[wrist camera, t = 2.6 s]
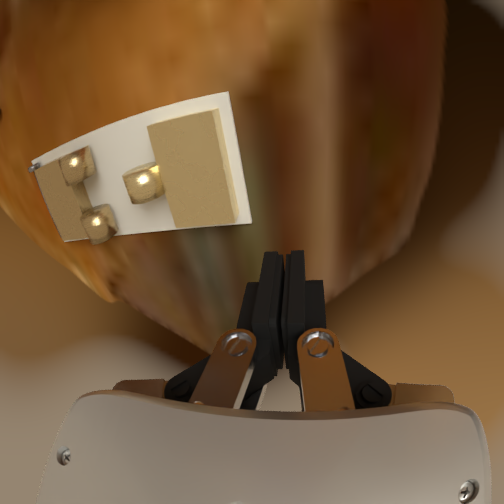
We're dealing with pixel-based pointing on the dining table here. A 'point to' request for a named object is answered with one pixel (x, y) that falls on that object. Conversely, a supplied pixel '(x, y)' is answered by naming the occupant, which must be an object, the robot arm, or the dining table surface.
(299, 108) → the dining table surface
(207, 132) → the door leaf
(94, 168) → the frame leaf
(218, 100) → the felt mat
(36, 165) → the hinge pin
